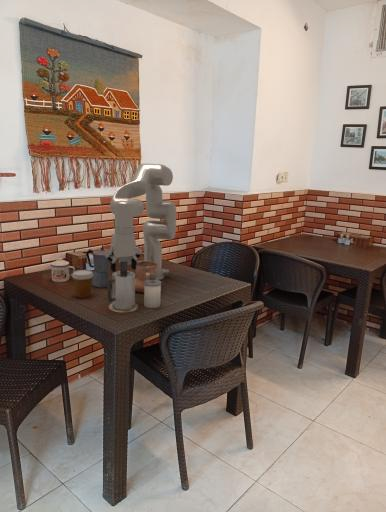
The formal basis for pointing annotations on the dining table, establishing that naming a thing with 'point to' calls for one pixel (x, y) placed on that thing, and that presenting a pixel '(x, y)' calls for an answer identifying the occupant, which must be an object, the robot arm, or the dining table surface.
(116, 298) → the steel press
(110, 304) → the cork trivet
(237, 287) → the dining table surface
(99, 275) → the moka pot
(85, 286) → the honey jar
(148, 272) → the ceramic jug
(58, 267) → the teacup with lid
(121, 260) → the coffee mug
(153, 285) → the cream press
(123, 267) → the plunger
